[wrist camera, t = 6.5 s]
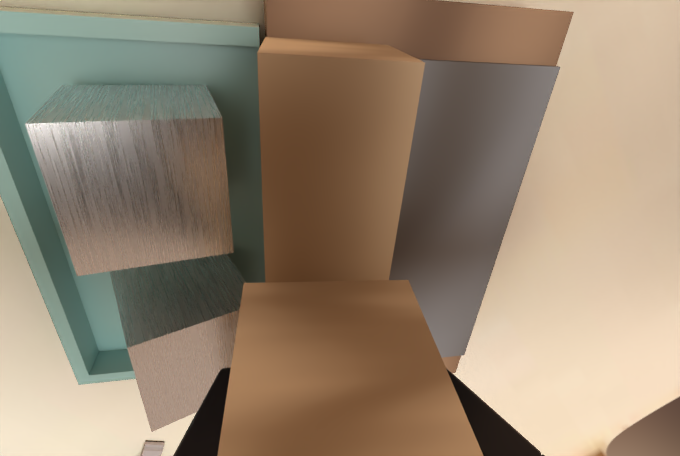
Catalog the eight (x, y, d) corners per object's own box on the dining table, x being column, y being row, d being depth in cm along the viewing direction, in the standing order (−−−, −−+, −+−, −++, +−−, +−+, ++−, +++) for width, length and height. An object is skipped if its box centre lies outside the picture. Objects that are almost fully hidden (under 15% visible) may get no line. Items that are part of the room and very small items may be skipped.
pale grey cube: (222, 118, 10) (24, 123, 8) (233, 252, 12) (77, 276, 10) (206, 84, 13) (62, 85, 11) (217, 195, 15) (96, 207, 13)
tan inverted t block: (408, 46, 10) (874, 237, 2) (356, 401, 17) (416, 744, 9) (243, 35, 9) (14, 238, 1) (262, 407, 16) (240, 777, 9)
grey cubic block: (259, 302, 13) (127, 347, 11) (263, 381, 15) (151, 432, 13) (221, 244, 16) (109, 272, 14) (228, 317, 18) (132, 350, 16)
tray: (258, 23, 12) (259, 27, 11) (268, 338, 19) (270, 364, 18) (-37, 4, 11) (-79, 5, 9) (92, 355, 18) (78, 384, 16)
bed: (524, 9, 14) (578, 12, 11) (435, 336, 22) (457, 375, 19) (263, -13, 12) (266, -15, 10) (272, 352, 20) (275, 398, 18)
